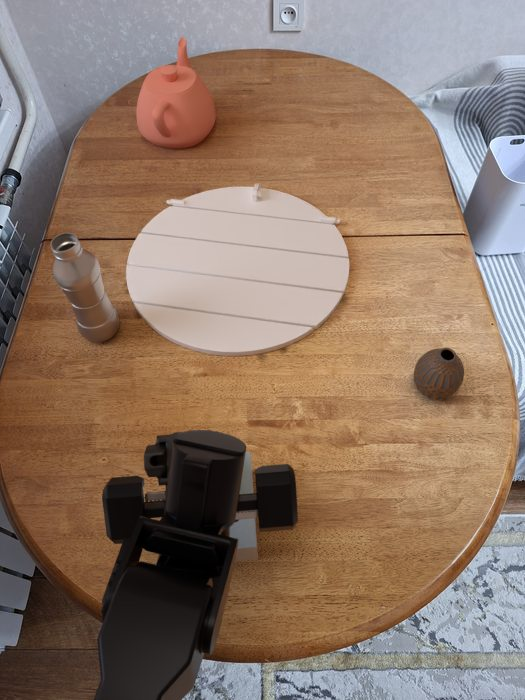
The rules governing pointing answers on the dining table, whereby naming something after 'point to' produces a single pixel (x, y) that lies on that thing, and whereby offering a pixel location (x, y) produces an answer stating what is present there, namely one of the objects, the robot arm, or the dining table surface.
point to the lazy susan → (237, 270)
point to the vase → (439, 373)
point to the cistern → (246, 527)
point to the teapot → (175, 105)
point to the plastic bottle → (84, 288)
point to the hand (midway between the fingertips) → (207, 470)
